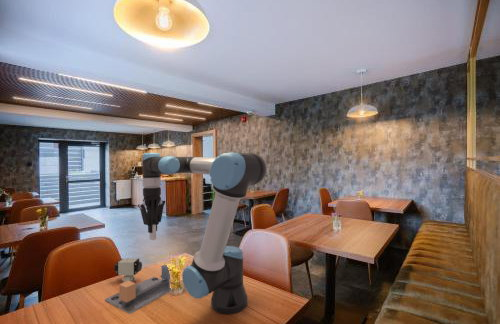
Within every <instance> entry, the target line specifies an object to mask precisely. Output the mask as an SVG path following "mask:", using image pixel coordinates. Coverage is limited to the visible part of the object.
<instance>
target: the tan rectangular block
mask: <svg viewBox="0 0 500 324" xmlns="http://www.w3.org/2000/svg"><path fill="white" fill-rule="evenodd" d="M135 285H136V283H135V282H134V281H133V282H131V281H129V280H128V281H126V282H124V283H123V282H122V283H119V285H118V290H119V292H118V293H119V299H120V300H122V301H124V302H126V303H127V302H128V301H130V300H132V299H134V298H136V287H135Z"/></svg>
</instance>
